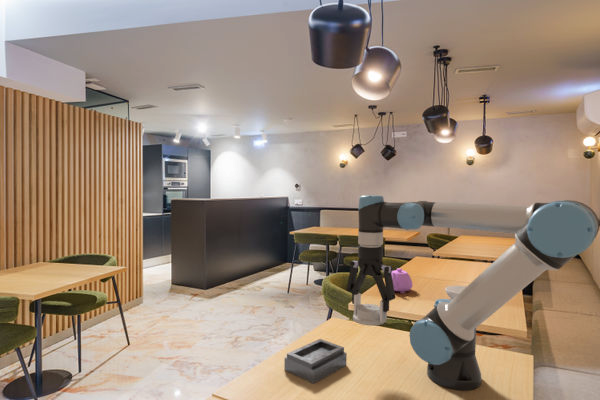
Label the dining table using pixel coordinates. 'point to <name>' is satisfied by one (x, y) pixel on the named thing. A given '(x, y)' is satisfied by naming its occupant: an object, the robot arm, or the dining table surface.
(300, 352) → the dark grey rectangular box
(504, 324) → the dining table surface
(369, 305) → the mechanical component
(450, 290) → the bowl
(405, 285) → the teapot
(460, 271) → the dining table surface
